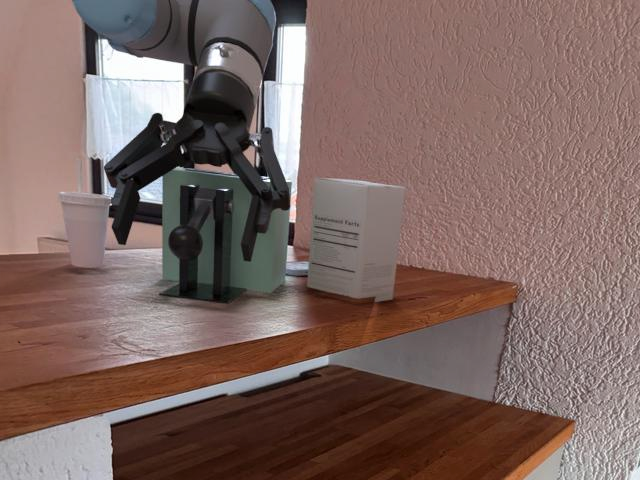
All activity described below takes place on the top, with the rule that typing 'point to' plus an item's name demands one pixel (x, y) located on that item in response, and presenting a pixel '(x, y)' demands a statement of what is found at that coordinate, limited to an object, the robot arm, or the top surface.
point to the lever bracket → (222, 252)
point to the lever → (193, 227)
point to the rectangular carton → (355, 238)
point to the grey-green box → (268, 248)
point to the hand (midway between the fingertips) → (181, 245)
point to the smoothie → (85, 224)
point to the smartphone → (297, 268)
